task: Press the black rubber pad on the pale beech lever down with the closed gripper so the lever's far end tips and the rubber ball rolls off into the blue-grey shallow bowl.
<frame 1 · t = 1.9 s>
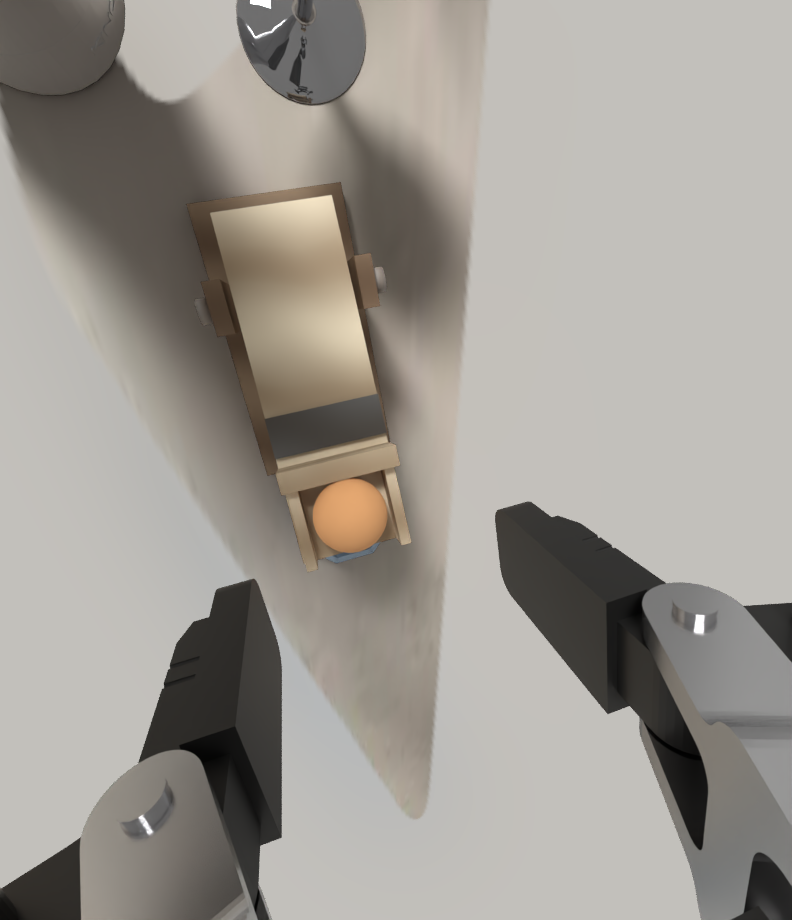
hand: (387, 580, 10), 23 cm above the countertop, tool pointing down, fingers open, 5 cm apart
wine glass: (303, 30, 25), on the countertop
stand: (291, 300, 29), on the countertop
blue-grey shallow bowl: (340, 504, 34), on the countertop
lever: (317, 385, 21), point 10 cm above the countertop, hinge at -11.9°, touching ball
ball: (350, 514, 21), point 13 cm above the countertop, touching lever
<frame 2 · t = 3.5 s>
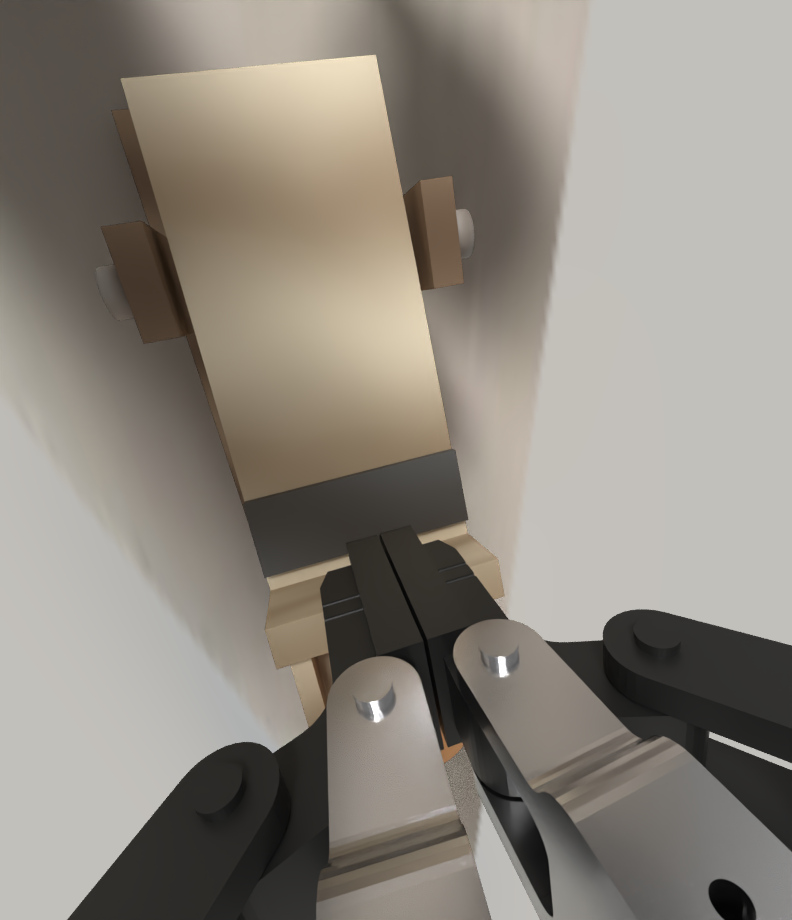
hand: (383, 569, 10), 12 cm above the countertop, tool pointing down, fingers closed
stand: (291, 280, 19), on the countertop
lever: (344, 438, 11), point 10 cm above the countertop, hinge at -9.7°, touching ball, gripper
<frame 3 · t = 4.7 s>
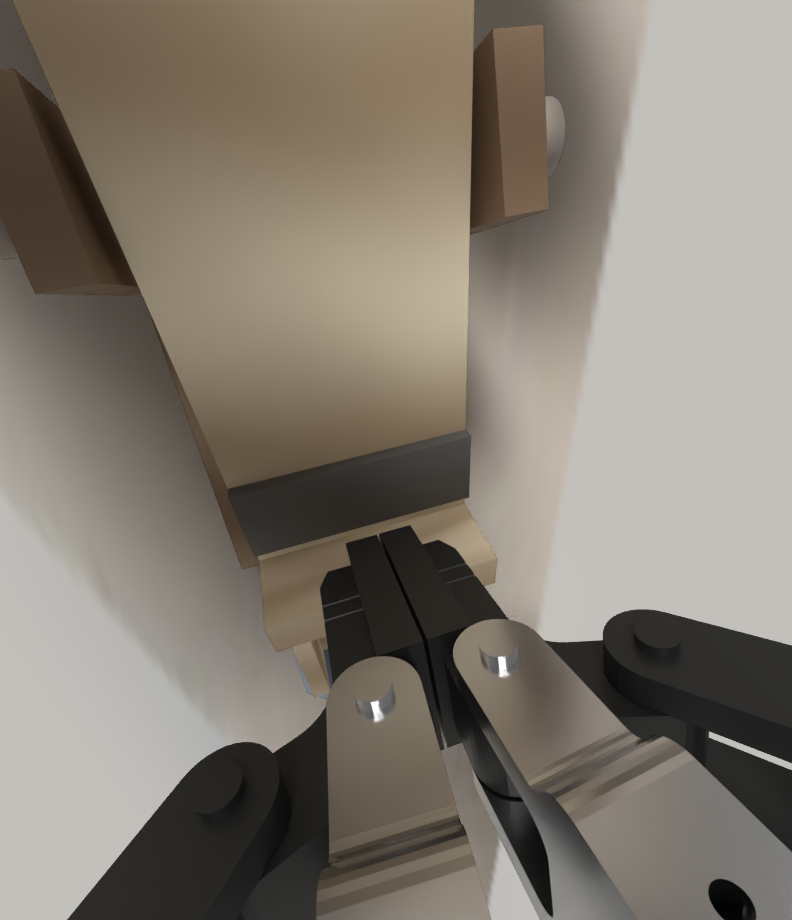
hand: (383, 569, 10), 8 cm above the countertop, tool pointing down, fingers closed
stand: (284, 235, 14), on the countertop
lever: (349, 432, 9), point 8 cm above the countertop, hinge at 17.5°, touching gripper
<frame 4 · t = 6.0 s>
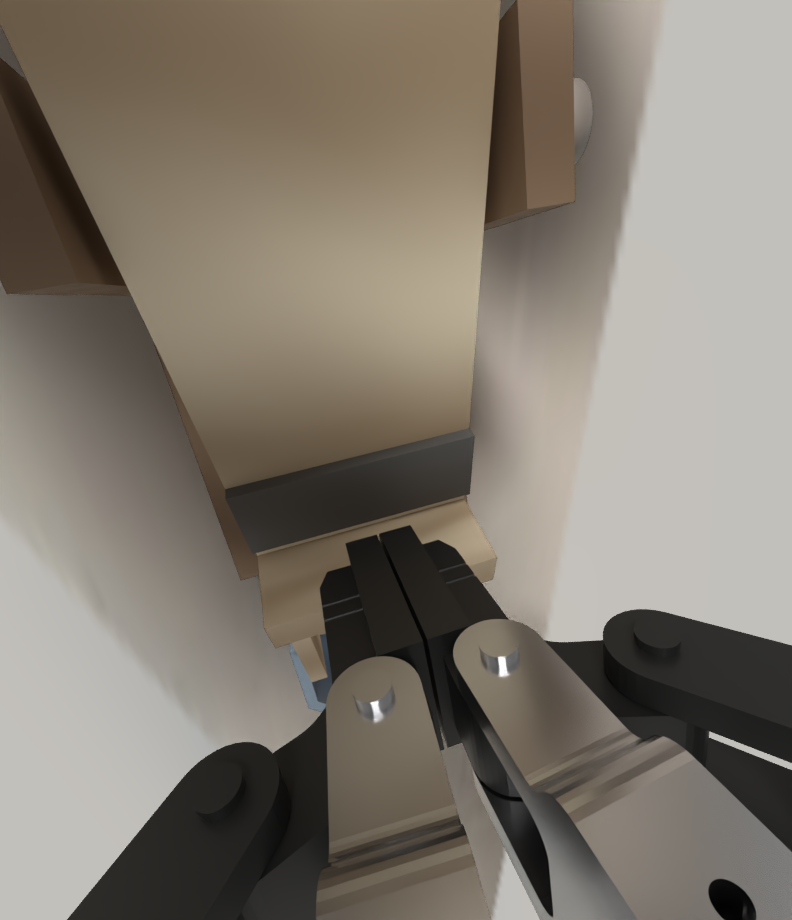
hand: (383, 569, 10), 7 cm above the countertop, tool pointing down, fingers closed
stand: (285, 232, 14), on the countertop
blue-grey shallow bowl: (373, 611, 19), on the countertop
lever: (351, 434, 9), point 7 cm above the countertop, hinge at 22.4°, touching blue-grey shallow bowl, gripper
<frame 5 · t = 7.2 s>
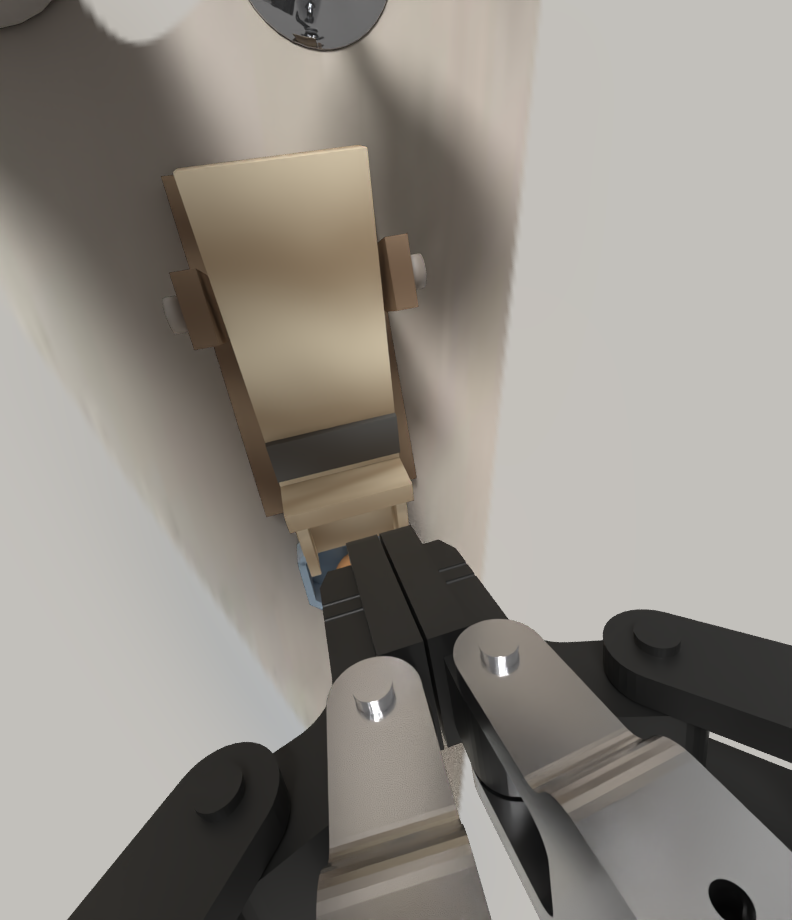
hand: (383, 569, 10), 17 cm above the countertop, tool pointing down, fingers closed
stand: (296, 301, 23), on the countertop
blue-grey shallow bowl: (355, 547, 28), on the countertop
lever: (328, 412, 18), point 7 cm above the countertop, hinge at 20.2°
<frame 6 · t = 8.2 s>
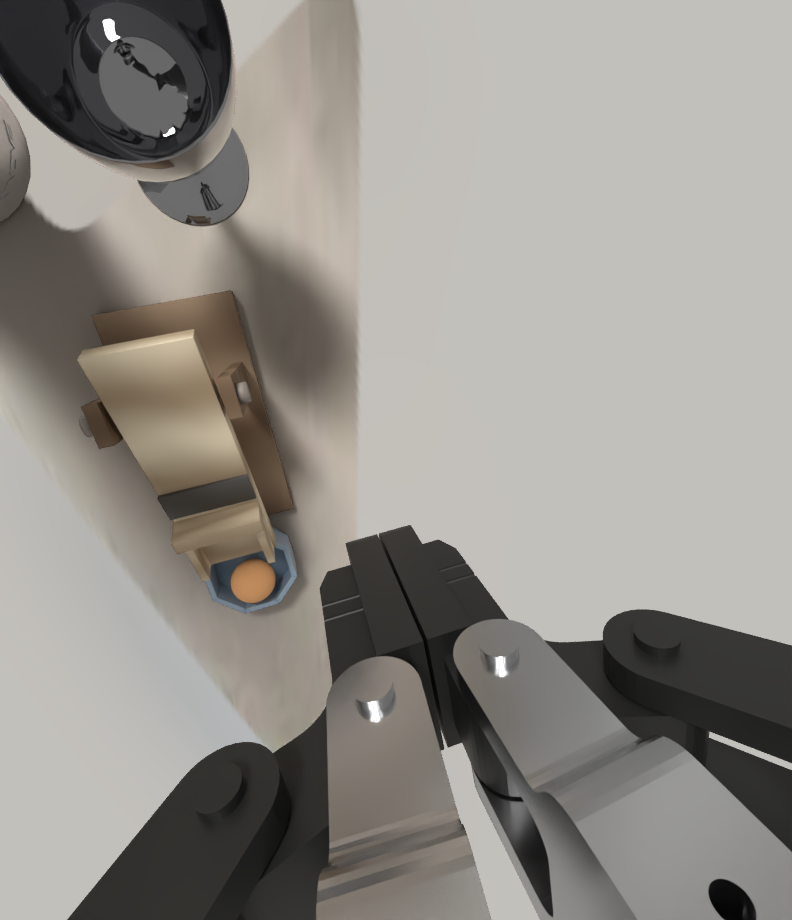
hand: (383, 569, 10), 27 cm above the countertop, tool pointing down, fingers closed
wine glass: (191, 165, 29), on the countertop
stand: (194, 387, 33), on the countertop
blue-grey shallow bowl: (252, 558, 38), on the countertop
lever: (197, 477, 28), point 7 cm above the countertop, hinge at 20.2°
ball: (253, 580, 36), point 2 cm above the countertop, tilted 150°, touching blue-grey shallow bowl
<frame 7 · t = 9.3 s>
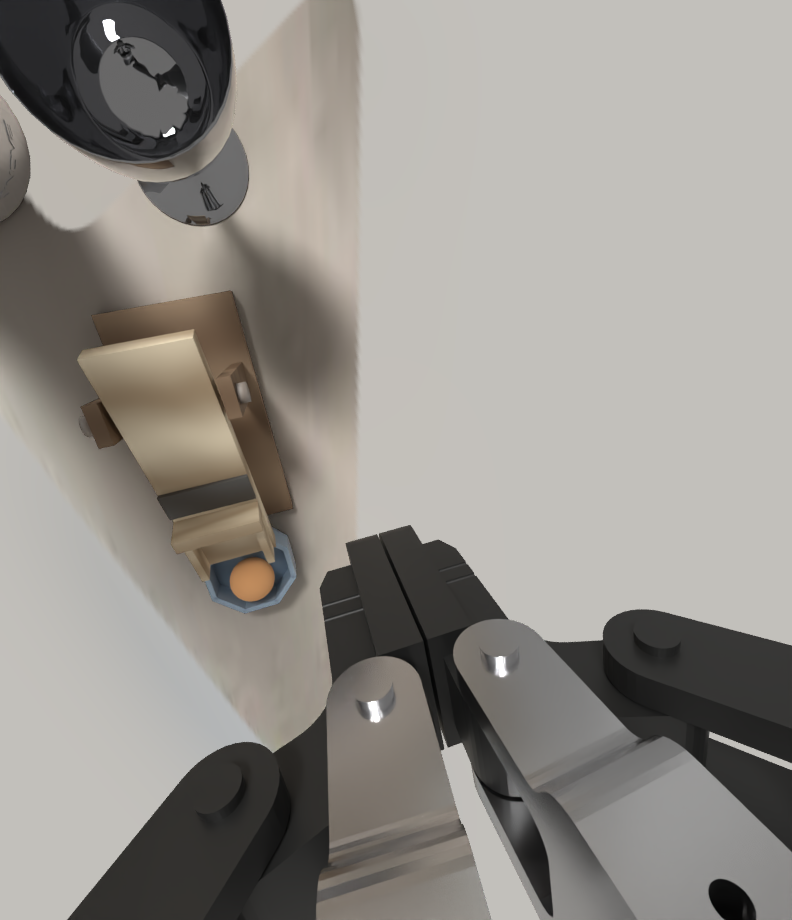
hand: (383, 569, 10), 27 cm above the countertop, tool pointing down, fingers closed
wine glass: (191, 165, 29), on the countertop
stand: (194, 387, 33), on the countertop
blue-grey shallow bowl: (252, 558, 38), on the countertop
lever: (197, 477, 28), point 7 cm above the countertop, hinge at 20.2°
ball: (252, 579, 36), point 2 cm above the countertop, tilted 155°, touching blue-grey shallow bowl
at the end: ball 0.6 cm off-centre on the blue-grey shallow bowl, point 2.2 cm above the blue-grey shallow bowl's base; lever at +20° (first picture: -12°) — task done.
